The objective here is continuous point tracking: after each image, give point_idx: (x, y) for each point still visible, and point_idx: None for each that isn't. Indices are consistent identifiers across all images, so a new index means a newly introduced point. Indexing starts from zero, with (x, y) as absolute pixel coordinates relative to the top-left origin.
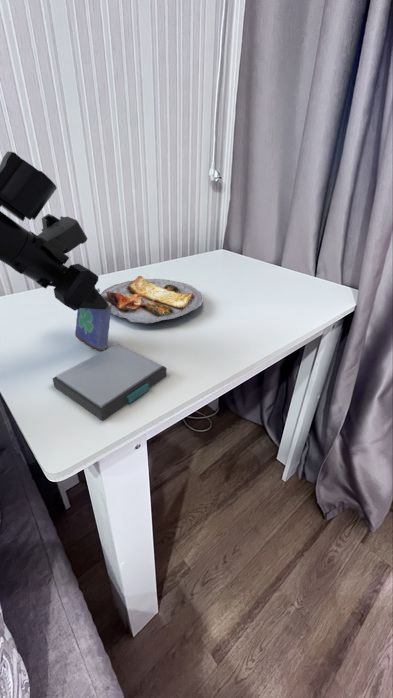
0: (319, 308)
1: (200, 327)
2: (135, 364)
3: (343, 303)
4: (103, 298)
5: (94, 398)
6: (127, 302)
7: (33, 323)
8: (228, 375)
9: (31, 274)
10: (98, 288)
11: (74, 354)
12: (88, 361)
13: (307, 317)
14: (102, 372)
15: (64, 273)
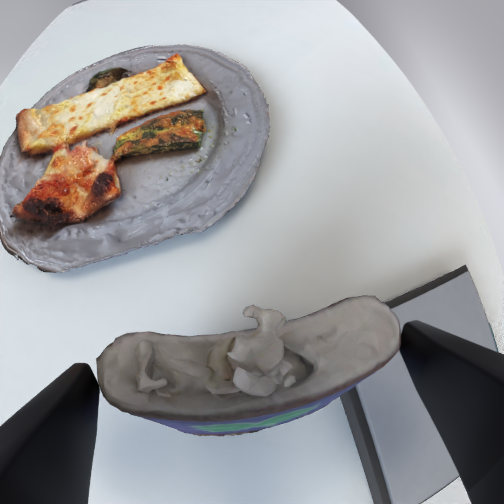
0: (320, 3)
1: (297, 109)
2: (450, 326)
3: None
4: (473, 343)
5: None
6: (75, 185)
7: None
8: (467, 179)
9: None
10: (249, 309)
11: (258, 455)
12: (387, 441)
13: (338, 18)
14: None
15: (18, 494)
